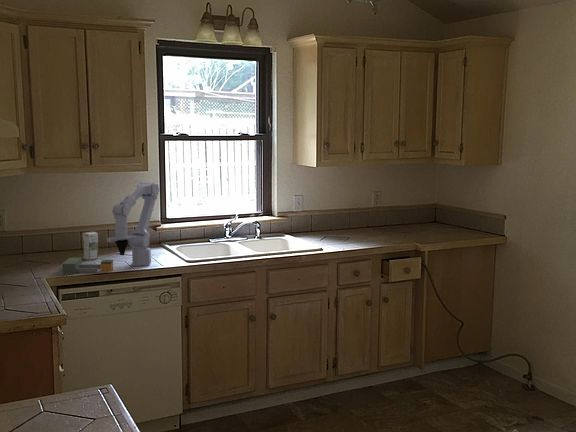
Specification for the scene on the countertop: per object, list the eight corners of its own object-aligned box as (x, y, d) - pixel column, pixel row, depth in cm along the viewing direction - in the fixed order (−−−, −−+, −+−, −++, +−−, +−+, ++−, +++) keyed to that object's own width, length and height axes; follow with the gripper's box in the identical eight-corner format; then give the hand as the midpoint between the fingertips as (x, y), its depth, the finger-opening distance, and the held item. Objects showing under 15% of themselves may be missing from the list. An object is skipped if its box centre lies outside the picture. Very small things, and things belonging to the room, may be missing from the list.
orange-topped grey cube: (113, 269, 309) (113, 259, 309) (111, 271, 305) (111, 261, 304) (103, 269, 309) (102, 259, 308) (101, 271, 304) (100, 261, 303)
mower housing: (102, 267, 313) (101, 257, 313) (96, 273, 300) (95, 263, 299) (69, 267, 312) (69, 257, 311) (62, 273, 298) (62, 263, 297)
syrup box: (92, 257, 336) (91, 231, 334) (98, 258, 332) (97, 232, 330) (83, 258, 332) (82, 232, 330) (89, 260, 328) (88, 233, 326)
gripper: (131, 225, 312) (132, 252, 314) (104, 228, 303) (104, 255, 305) (137, 227, 306) (138, 254, 308) (109, 230, 297) (110, 257, 299)
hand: (122, 255), depth 306 cm, fingers closed
